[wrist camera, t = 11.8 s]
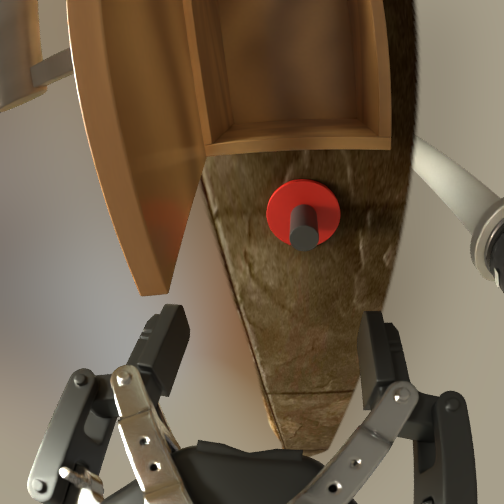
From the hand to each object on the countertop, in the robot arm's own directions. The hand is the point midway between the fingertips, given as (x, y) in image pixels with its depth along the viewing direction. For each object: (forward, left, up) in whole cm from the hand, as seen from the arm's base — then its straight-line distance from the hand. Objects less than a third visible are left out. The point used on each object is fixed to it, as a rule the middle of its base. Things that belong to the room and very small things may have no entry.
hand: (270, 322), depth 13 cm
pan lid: (-1, +3, -16) cm, 17 cm away
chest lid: (0, -14, -2) cm, 14 cm away
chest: (-4, -13, -16) cm, 21 cm away
